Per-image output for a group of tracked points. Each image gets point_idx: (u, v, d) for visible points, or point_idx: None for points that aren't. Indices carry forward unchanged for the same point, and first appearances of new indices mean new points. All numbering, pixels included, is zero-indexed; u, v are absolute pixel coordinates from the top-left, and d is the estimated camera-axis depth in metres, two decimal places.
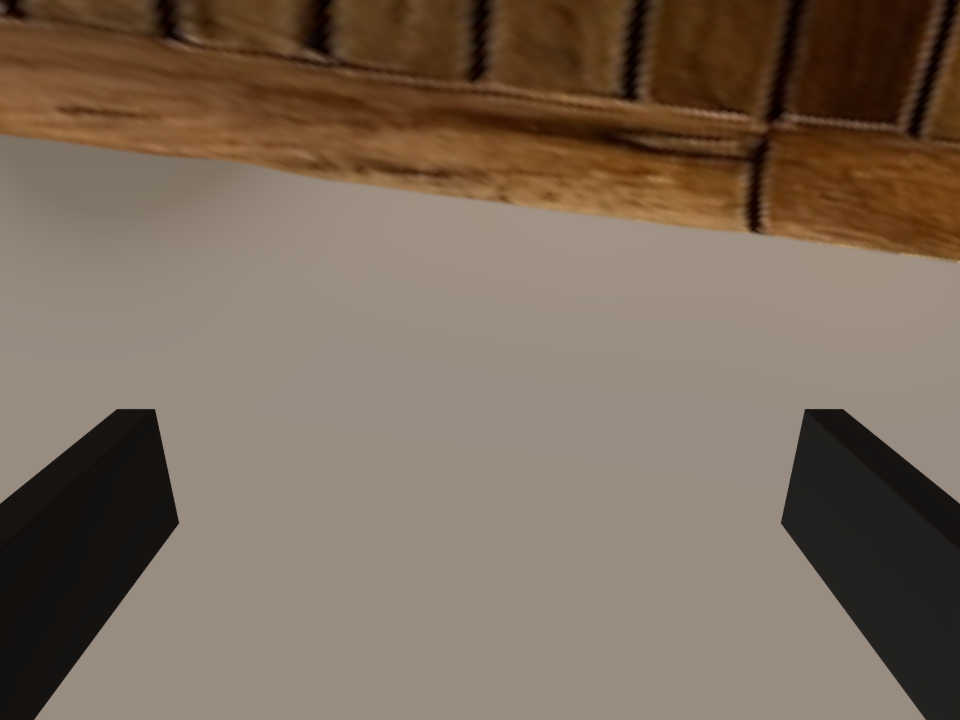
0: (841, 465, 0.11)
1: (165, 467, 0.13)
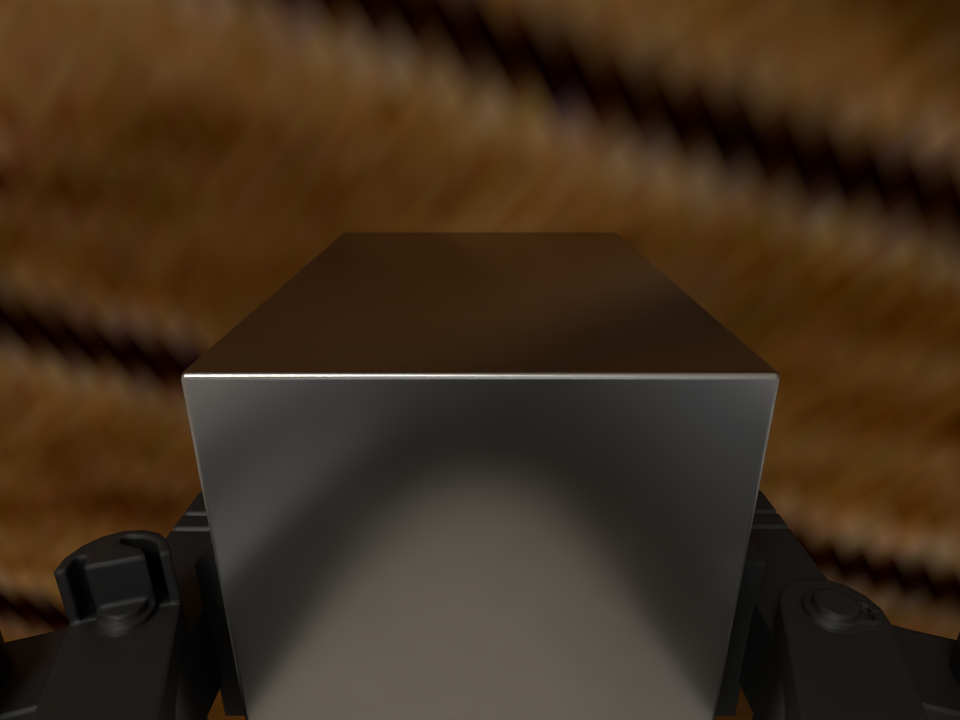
0: None
1: None
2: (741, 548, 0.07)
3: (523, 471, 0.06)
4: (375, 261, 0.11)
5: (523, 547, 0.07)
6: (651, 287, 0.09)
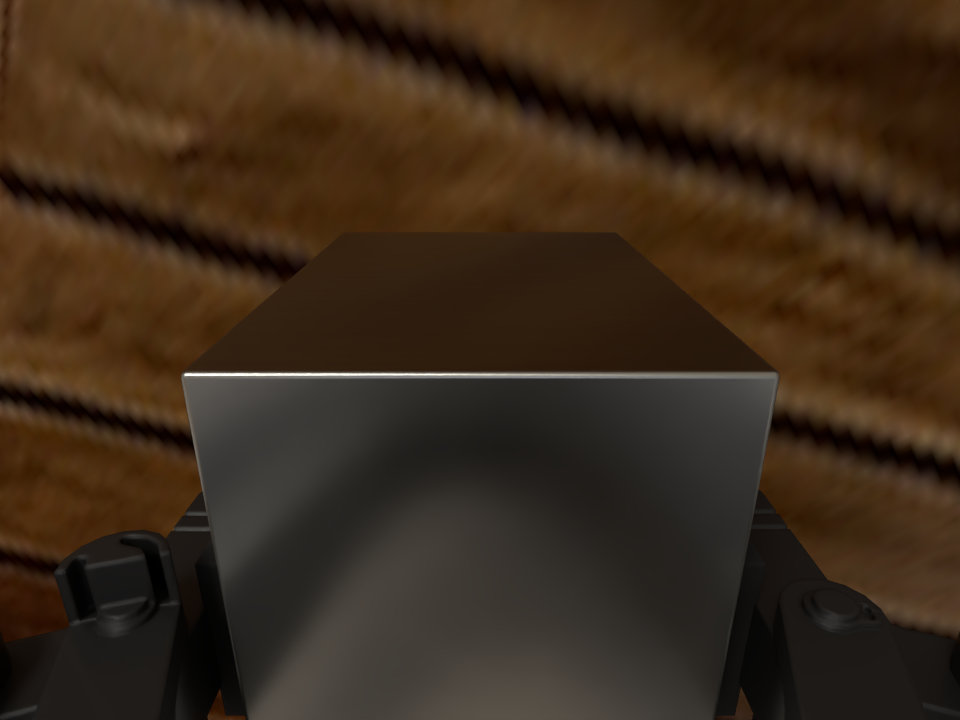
0: None
1: None
2: (741, 547, 0.07)
3: (524, 470, 0.06)
4: (375, 261, 0.11)
5: (523, 546, 0.07)
6: (651, 286, 0.09)
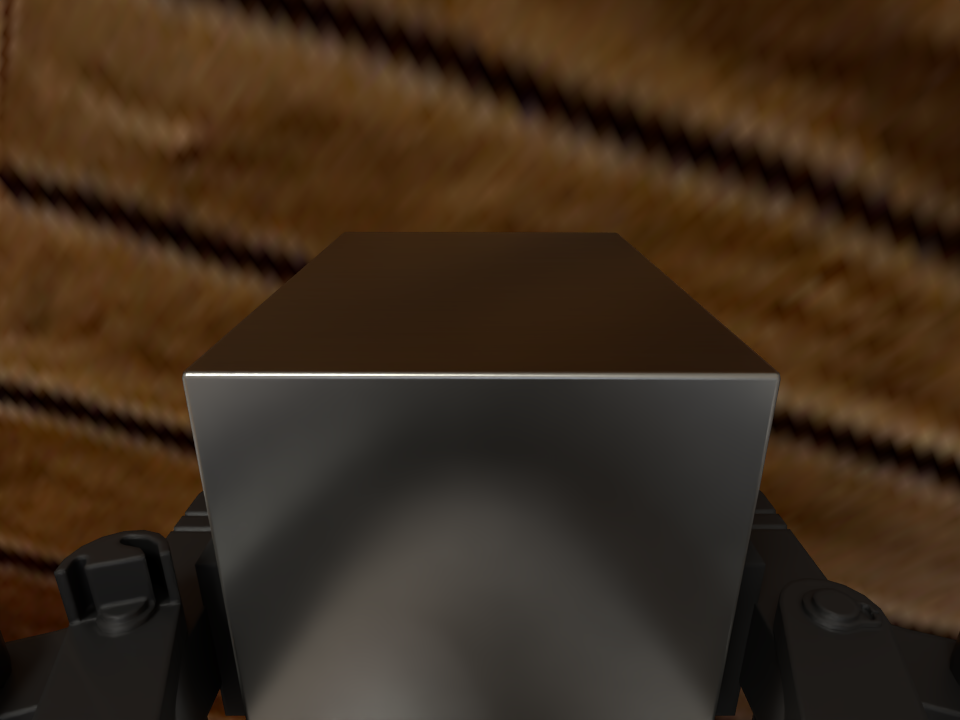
0: None
1: None
2: (741, 548, 0.07)
3: (525, 470, 0.06)
4: (375, 261, 0.11)
5: (523, 546, 0.07)
6: (652, 287, 0.09)
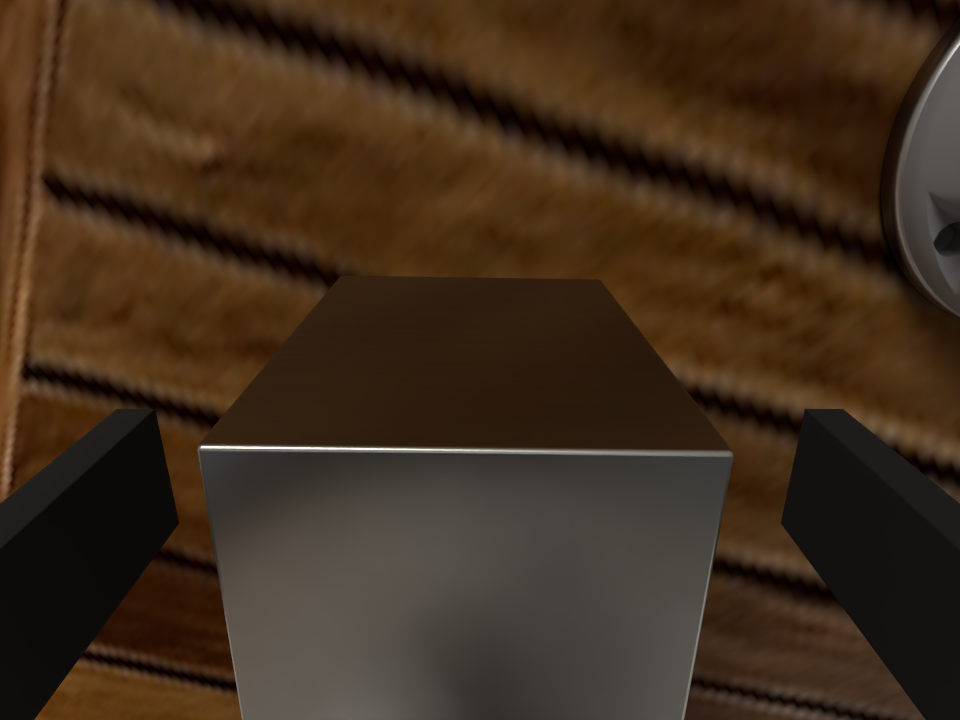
0: (841, 464, 0.11)
1: (164, 467, 0.13)
2: (700, 602, 0.08)
3: (505, 533, 0.07)
4: (371, 313, 0.11)
5: (504, 599, 0.08)
6: (627, 348, 0.10)
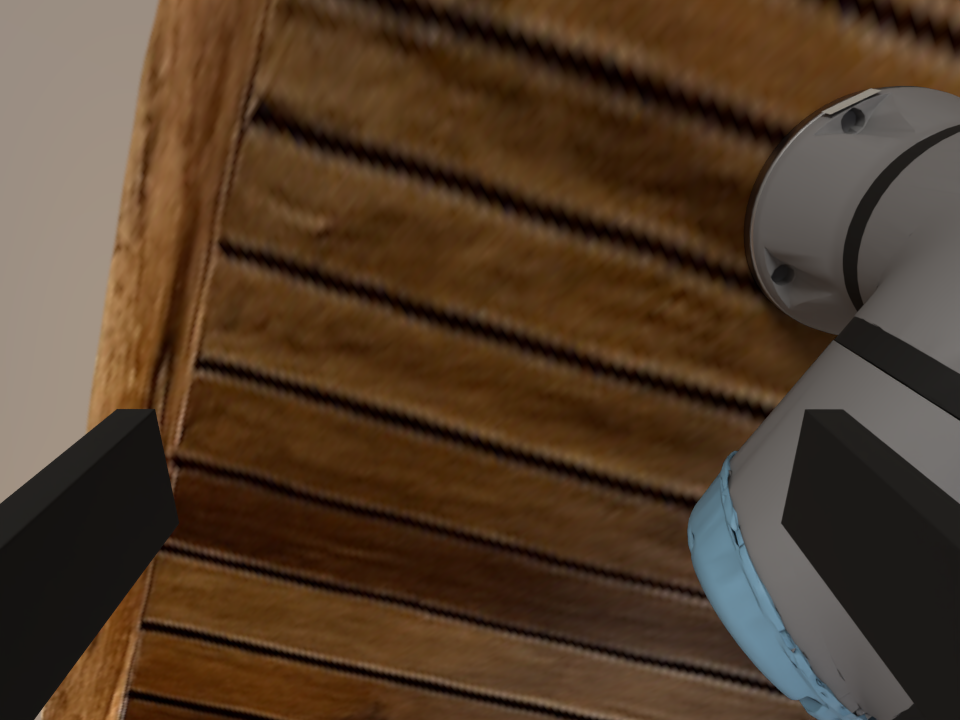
0: (841, 464, 0.11)
1: (164, 467, 0.13)
2: None
3: None
4: None
5: None
6: None
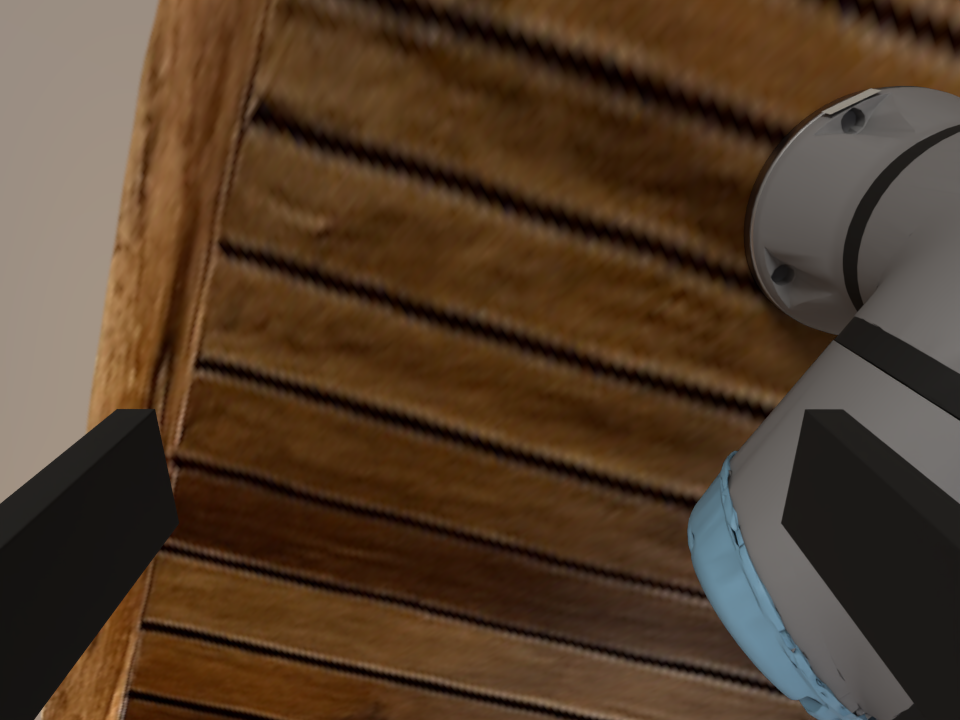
0: (841, 464, 0.11)
1: (164, 467, 0.13)
2: None
3: None
4: None
5: None
6: None
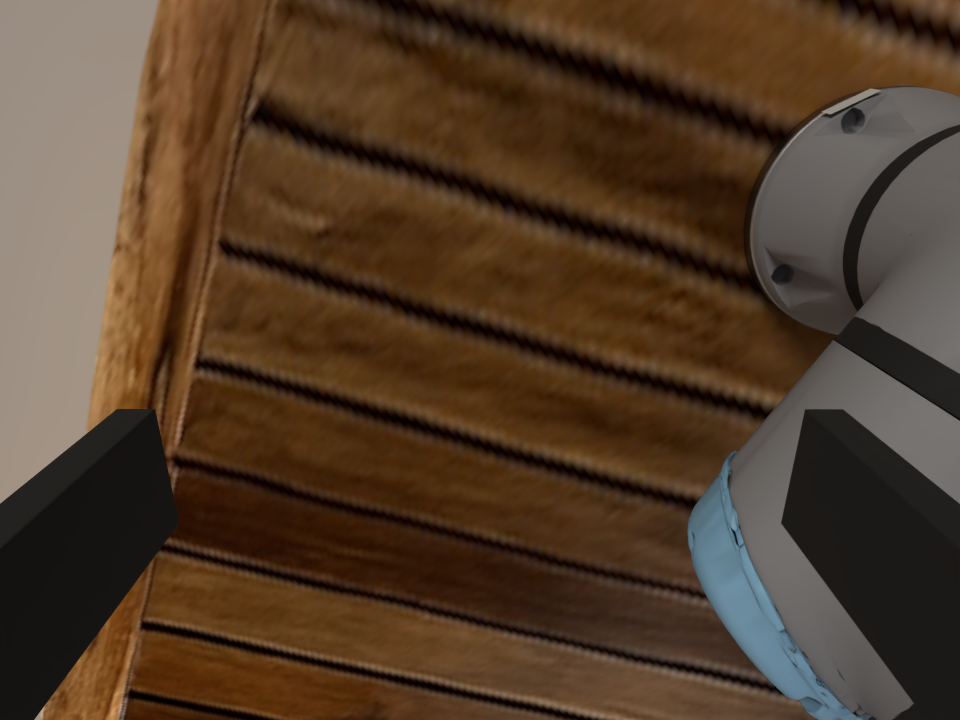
0: (841, 464, 0.11)
1: (164, 467, 0.13)
2: None
3: None
4: None
5: None
6: None
